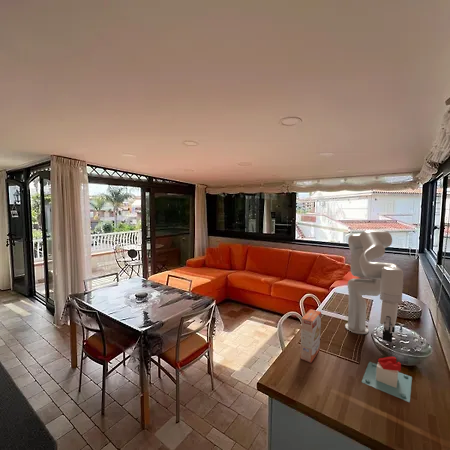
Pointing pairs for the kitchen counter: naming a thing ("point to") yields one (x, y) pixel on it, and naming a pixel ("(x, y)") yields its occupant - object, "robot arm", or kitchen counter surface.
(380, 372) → the base block
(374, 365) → the baseplate
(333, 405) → the kitchen counter surface
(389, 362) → the bracket
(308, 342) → the cracker box
